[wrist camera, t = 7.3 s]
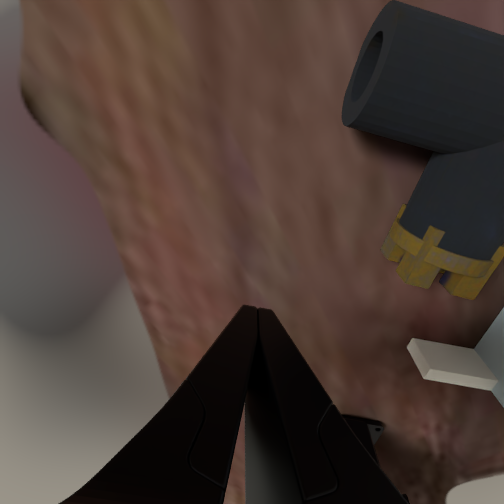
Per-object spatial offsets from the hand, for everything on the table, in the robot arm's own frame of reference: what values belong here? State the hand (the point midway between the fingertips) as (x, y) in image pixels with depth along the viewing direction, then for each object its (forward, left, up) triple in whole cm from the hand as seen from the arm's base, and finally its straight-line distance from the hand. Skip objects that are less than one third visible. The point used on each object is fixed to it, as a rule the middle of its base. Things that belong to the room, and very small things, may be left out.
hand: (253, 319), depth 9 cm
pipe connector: (+4, -11, -12) cm, 17 cm away
